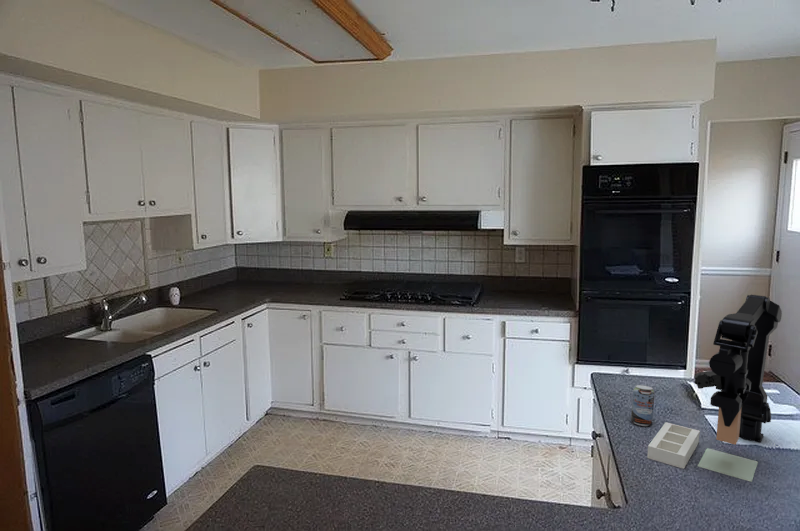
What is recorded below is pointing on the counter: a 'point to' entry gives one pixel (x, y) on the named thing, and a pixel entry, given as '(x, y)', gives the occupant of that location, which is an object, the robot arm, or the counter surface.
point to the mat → (728, 464)
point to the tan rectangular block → (728, 429)
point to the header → (673, 445)
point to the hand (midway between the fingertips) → (728, 422)
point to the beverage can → (642, 405)
